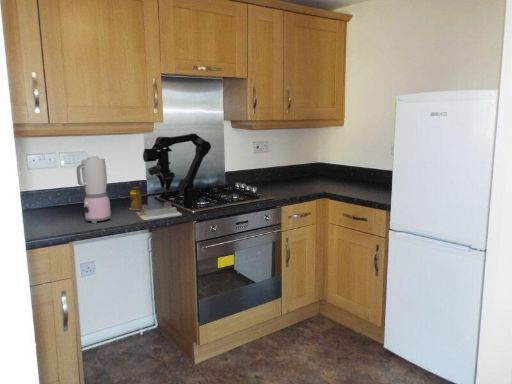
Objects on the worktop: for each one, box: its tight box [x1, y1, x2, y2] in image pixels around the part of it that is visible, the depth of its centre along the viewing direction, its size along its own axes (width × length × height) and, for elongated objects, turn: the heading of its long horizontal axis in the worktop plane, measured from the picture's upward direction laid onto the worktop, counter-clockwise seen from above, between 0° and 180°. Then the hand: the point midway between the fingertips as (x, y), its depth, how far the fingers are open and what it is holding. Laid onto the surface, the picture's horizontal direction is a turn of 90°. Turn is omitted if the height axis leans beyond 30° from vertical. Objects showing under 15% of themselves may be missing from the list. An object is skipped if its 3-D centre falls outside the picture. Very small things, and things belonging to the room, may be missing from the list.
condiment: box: [128, 186, 143, 211], centre depth 240 cm, size 7×8×12 cm
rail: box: [144, 206, 177, 217], centre depth 222 cm, size 16×3×3 cm, turn 118°
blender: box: [76, 155, 112, 224], centre depth 211 cm, size 16×12×32 cm
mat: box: [140, 210, 183, 221], centre depth 222 cm, size 20×8×1 cm, turn 118°
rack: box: [136, 201, 178, 217], centre depth 228 cm, size 20×6×5 cm, turn 118°
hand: (165, 189), depth 232 cm, fingers open, 9 cm apart
